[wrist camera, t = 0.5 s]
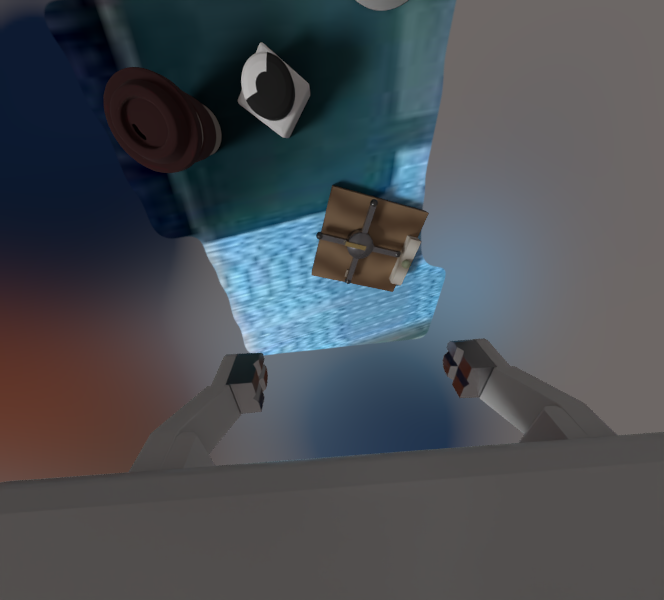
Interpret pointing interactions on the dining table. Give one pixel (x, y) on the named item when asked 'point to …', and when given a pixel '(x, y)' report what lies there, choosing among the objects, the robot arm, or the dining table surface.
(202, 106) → the coffee cup
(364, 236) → the capstan
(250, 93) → the medicine bottle
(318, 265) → the stand
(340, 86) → the dining table surface
